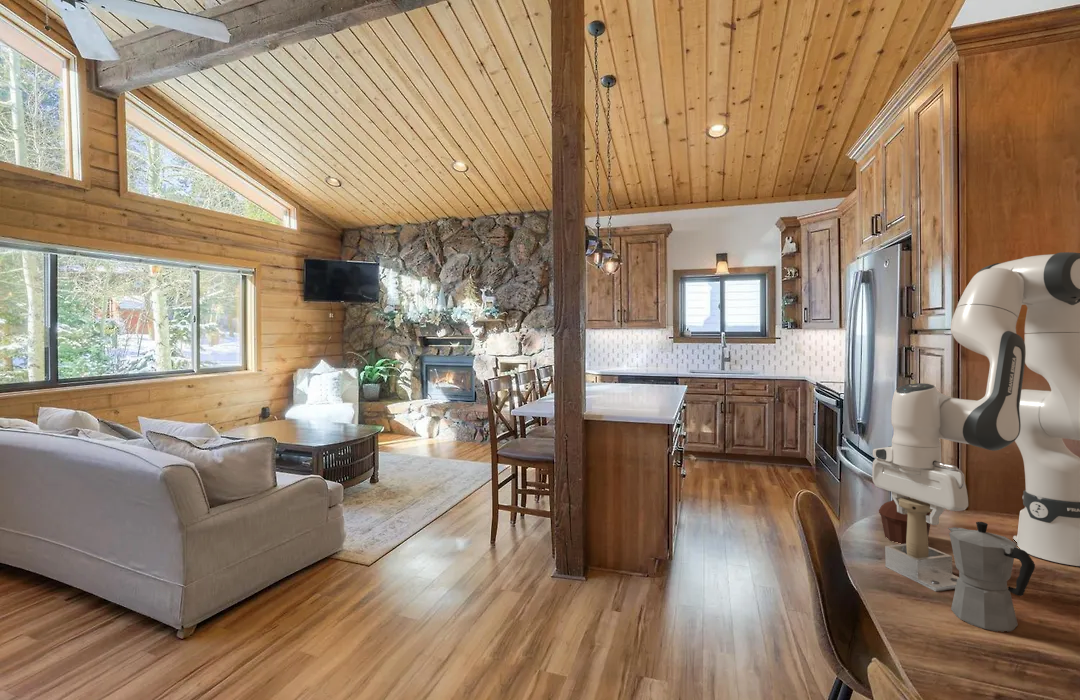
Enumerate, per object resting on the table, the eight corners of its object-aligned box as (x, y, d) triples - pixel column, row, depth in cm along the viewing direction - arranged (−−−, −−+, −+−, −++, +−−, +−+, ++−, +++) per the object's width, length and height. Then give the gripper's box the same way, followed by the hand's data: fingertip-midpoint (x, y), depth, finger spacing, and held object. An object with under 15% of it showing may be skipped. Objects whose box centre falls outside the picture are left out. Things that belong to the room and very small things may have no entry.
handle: (933, 577, 108) (932, 507, 108) (897, 567, 113) (896, 501, 113) (938, 569, 111) (936, 502, 111) (903, 561, 116) (901, 496, 116)
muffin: (873, 540, 131) (873, 501, 131) (884, 528, 139) (883, 492, 139) (930, 552, 122) (930, 511, 122) (938, 539, 130) (937, 501, 130)
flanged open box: (918, 562, 117) (917, 542, 117) (971, 586, 105) (971, 563, 105) (885, 566, 115) (885, 545, 115) (935, 591, 103) (935, 568, 103)
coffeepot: (929, 602, 99) (927, 511, 99) (972, 599, 100) (970, 509, 100) (1009, 649, 84) (1007, 541, 84) (1059, 644, 85) (1057, 538, 85)
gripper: (976, 466, 102) (977, 533, 102) (888, 447, 122) (889, 503, 123) (950, 468, 101) (951, 536, 101) (866, 448, 121) (867, 505, 121)
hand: (917, 518), depth 112 cm, fingers open, 6 cm apart
